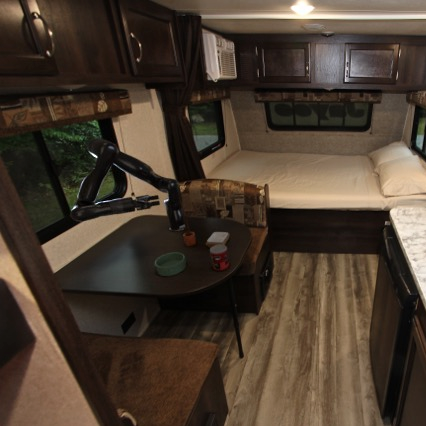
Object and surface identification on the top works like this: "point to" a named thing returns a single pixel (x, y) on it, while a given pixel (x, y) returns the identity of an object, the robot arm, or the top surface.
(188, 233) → the stick
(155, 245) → the top surface
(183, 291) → the top surface
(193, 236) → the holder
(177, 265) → the bowl
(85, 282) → the top surface
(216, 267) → the canned food
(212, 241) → the soap dish
